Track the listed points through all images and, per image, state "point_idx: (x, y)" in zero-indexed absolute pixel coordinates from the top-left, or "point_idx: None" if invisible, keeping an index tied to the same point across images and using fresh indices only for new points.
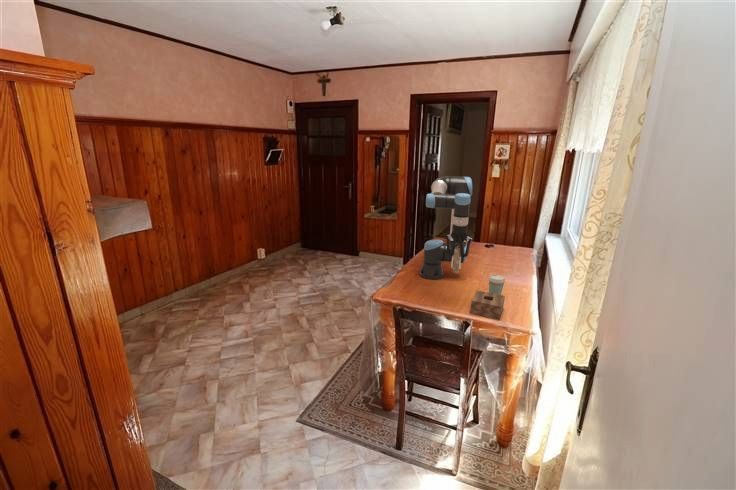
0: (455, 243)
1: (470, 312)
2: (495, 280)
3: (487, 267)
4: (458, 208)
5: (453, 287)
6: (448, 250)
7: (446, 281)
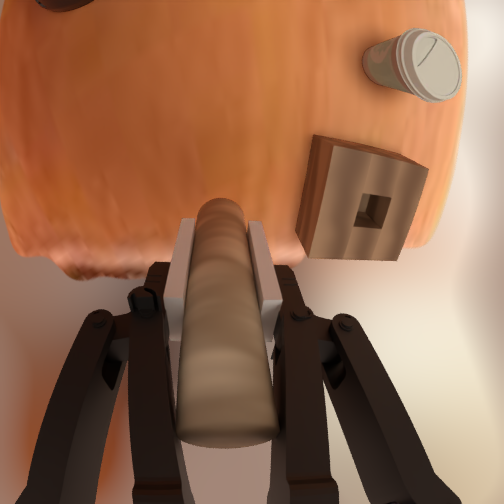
0: (192, 498)
1: (296, 232)
2: (429, 97)
3: None
4: None
5: (198, 19)
6: (111, 385)
7: None
